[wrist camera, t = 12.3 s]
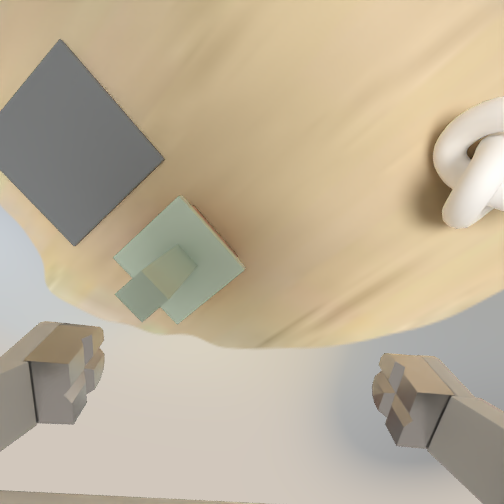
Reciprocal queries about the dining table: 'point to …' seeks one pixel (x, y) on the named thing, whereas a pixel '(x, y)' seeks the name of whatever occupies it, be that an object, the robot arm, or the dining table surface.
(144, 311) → the lid
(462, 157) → the white knot sculpture
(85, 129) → the mat
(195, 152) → the dining table surface
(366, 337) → the dining table surface
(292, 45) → the dining table surface
